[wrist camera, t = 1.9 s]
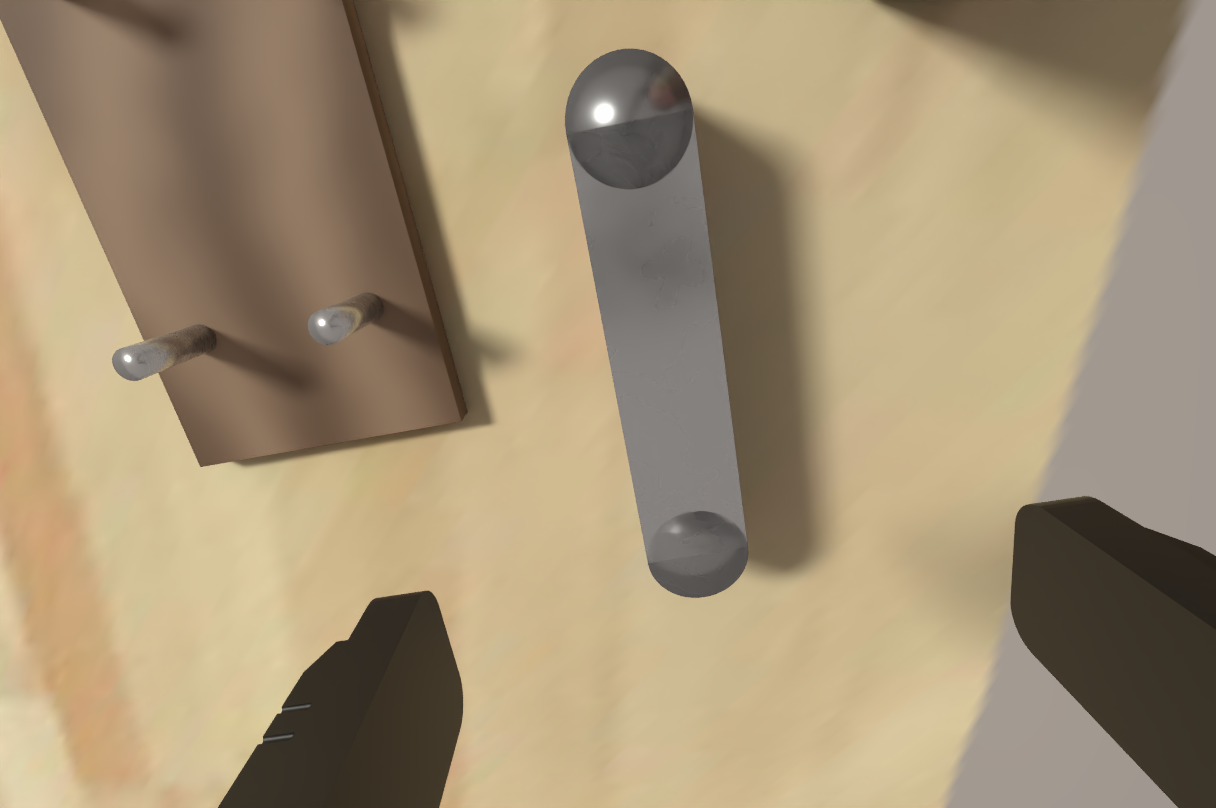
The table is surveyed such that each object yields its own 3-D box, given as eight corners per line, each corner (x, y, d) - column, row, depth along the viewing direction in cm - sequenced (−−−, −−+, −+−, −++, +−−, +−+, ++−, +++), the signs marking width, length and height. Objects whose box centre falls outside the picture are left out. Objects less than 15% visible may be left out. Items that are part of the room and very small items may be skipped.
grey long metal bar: (668, 68, 23) (683, 36, 18) (730, 525, 29) (753, 589, 25) (564, 89, 23) (552, 63, 18) (648, 538, 30) (655, 604, 25)
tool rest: (276, -274, 20) (165, -429, 15) (467, 411, 27) (436, 459, 23) (-63, -188, 20) (-276, -308, 15) (216, 455, 28) (134, 511, 23)
